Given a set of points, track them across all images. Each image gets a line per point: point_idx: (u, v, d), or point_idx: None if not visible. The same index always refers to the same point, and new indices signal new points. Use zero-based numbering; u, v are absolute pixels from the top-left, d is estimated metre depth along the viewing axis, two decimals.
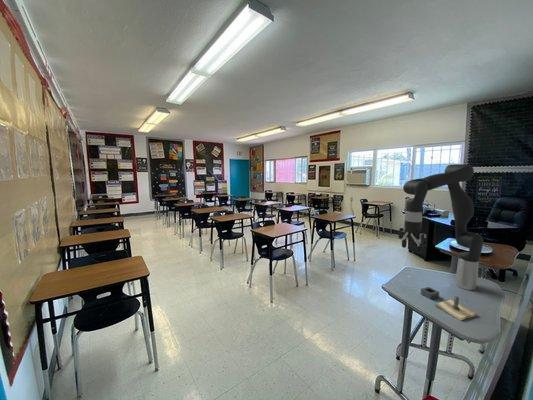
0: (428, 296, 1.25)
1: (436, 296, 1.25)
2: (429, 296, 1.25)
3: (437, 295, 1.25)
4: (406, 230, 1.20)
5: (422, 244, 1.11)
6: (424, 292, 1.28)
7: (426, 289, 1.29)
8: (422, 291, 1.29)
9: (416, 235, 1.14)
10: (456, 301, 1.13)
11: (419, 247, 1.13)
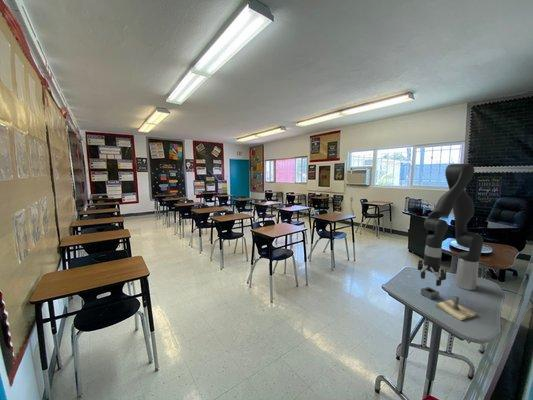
0: (428, 296, 1.25)
1: (436, 296, 1.25)
2: (429, 296, 1.25)
3: (437, 295, 1.25)
4: (425, 263, 1.27)
5: (441, 278, 1.19)
6: (424, 292, 1.28)
7: (426, 289, 1.29)
8: (422, 291, 1.29)
9: (436, 269, 1.22)
10: (456, 301, 1.13)
11: (438, 281, 1.21)
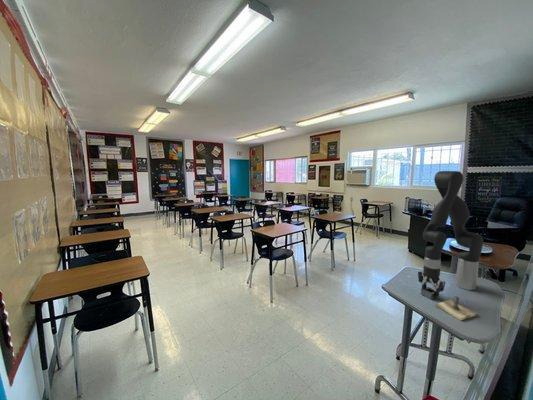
0: (428, 296, 1.25)
1: None
2: (429, 296, 1.25)
3: None
4: (425, 274, 1.28)
5: (439, 290, 1.21)
6: (424, 292, 1.28)
7: (426, 289, 1.29)
8: (422, 291, 1.29)
9: (435, 280, 1.23)
10: (456, 301, 1.13)
11: (436, 292, 1.23)
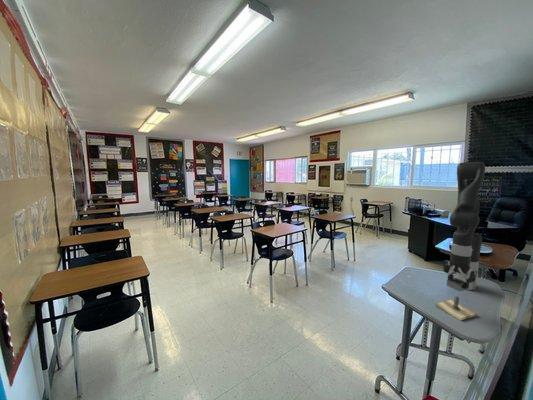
0: (456, 288, 1.10)
1: None
2: (457, 288, 1.09)
3: None
4: (452, 263, 1.13)
5: (470, 280, 1.06)
6: (451, 284, 1.12)
7: (453, 280, 1.14)
8: (449, 282, 1.13)
9: (465, 270, 1.08)
10: (456, 301, 1.13)
11: (466, 283, 1.08)
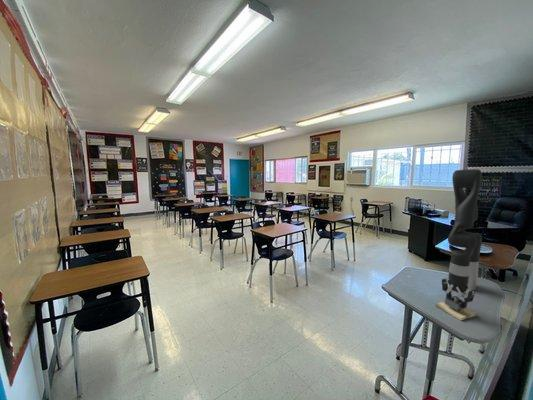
0: (454, 307, 1.11)
1: None
2: (456, 307, 1.11)
3: None
4: (450, 282, 1.14)
5: (468, 300, 1.07)
6: (449, 302, 1.14)
7: (451, 299, 1.15)
8: (447, 301, 1.15)
9: (463, 289, 1.09)
10: (456, 301, 1.13)
11: (464, 302, 1.09)
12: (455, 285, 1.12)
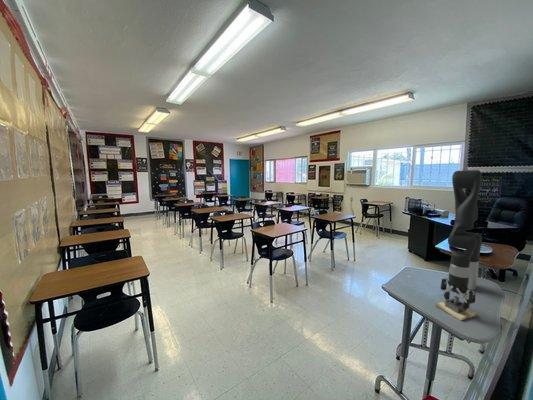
0: (454, 309, 1.12)
1: (463, 309, 1.11)
2: (456, 309, 1.11)
3: None
4: (450, 283, 1.14)
5: (470, 301, 1.06)
6: (449, 305, 1.14)
7: (451, 301, 1.15)
8: (447, 303, 1.15)
9: (463, 290, 1.09)
10: (456, 301, 1.13)
11: (466, 303, 1.08)
12: (455, 286, 1.12)
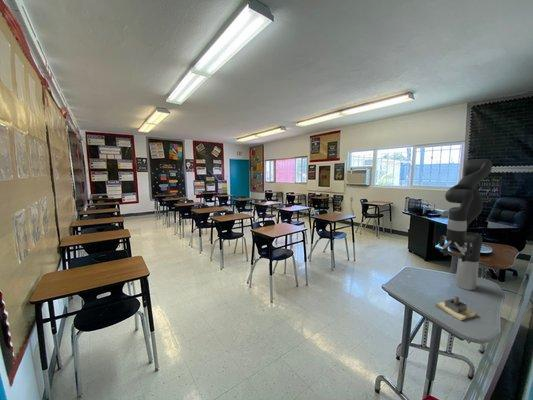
0: (454, 309, 1.12)
1: (463, 309, 1.11)
2: (456, 309, 1.11)
3: (464, 308, 1.12)
4: (448, 238, 1.18)
5: (468, 253, 1.10)
6: (449, 305, 1.14)
7: (451, 301, 1.15)
8: (447, 303, 1.15)
9: (461, 244, 1.13)
10: (456, 301, 1.13)
11: (464, 256, 1.12)
12: (453, 241, 1.16)
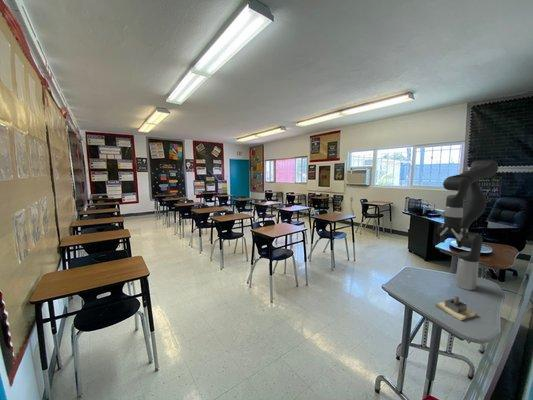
0: (454, 309, 1.12)
1: (463, 309, 1.11)
2: (456, 309, 1.11)
3: (464, 308, 1.12)
4: (445, 225, 1.22)
5: (464, 239, 1.14)
6: (449, 305, 1.14)
7: (451, 301, 1.15)
8: (447, 303, 1.15)
9: (457, 230, 1.17)
10: (456, 301, 1.13)
11: (460, 242, 1.16)
12: (450, 228, 1.20)
